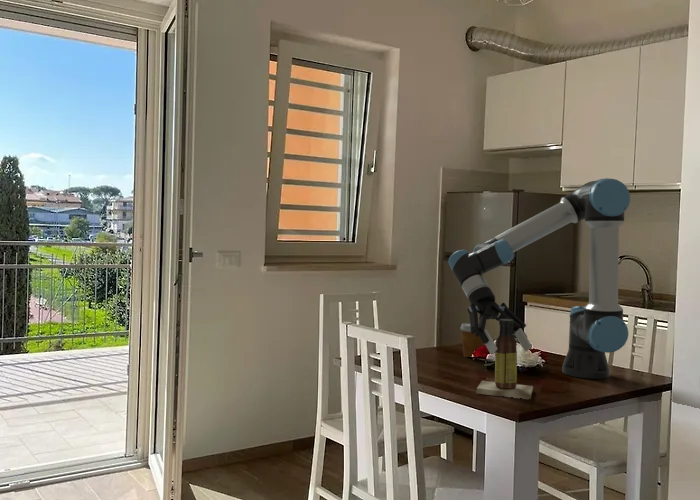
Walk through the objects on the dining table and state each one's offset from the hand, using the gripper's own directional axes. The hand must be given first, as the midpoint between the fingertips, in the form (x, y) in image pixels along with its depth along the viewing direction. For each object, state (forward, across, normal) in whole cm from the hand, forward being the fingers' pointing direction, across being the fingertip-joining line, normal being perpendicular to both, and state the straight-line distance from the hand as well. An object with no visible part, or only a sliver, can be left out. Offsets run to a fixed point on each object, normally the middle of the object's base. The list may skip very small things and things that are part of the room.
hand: (511, 350), depth 193 cm
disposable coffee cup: (-25, -28, -43) cm, 58 cm away
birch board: (+8, 0, -10) cm, 13 cm away
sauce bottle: (+7, 0, -9) cm, 11 cm away
